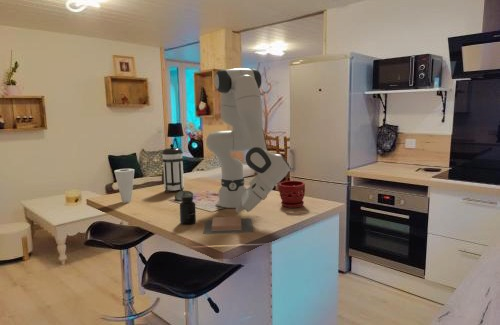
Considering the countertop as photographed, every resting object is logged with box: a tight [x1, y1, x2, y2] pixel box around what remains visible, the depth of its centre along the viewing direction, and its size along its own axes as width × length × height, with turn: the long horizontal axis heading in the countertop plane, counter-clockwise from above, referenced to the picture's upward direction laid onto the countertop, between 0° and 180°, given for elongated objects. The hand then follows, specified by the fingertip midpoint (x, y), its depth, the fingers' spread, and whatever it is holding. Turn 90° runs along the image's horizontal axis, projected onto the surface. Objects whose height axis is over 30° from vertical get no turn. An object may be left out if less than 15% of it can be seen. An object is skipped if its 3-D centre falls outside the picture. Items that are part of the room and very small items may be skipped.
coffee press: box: [161, 143, 185, 194], centre depth 213 cm, size 17×16×30 cm
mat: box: [202, 217, 254, 235], centre depth 144 cm, size 18×20×1 cm
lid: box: [174, 190, 194, 202], centre depth 194 cm, size 11×10×5 cm
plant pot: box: [278, 180, 306, 209], centre depth 174 cm, size 13×13×12 cm
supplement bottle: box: [179, 195, 197, 226], centre depth 150 cm, size 7×7×12 cm
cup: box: [113, 168, 136, 204], centre depth 190 cm, size 11×11×18 cm
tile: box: [212, 215, 242, 231], centre depth 143 cm, size 12×2×12 cm
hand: (236, 211), depth 143 cm, fingers closed
